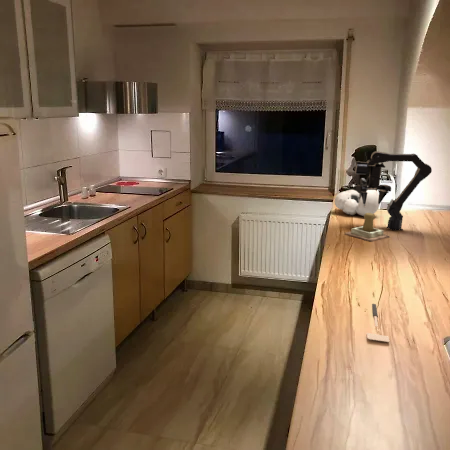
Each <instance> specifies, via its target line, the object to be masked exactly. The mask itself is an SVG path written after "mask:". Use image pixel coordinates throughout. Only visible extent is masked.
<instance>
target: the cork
mask: <svg viewBox="0 0 450 450" xmlns="http://www.w3.org/2000/svg"><path fill="white" fill-rule="evenodd" d="M363 218H364V222H363V225H362V226H363V229H362V231H366V232H373V228H374V219H375V213H374V214H372V213H365V215H364V216H363Z"/></svg>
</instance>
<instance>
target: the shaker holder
mask: <svg viewBox="0 0 450 450" xmlns="http://www.w3.org/2000/svg"><path fill="white" fill-rule="evenodd" d="M362 229H363V225H362V226H357V227H353V228H351V229H350V231H347V232H344V235H346V236H349V237H352V238H356V239H360V240H364V241H368V242H375V241H379V240H383V239H387V238H390V235H388V234H385V233H384V229H381V228H380V229H379V228H375V227H373V232H366V231H362Z"/></svg>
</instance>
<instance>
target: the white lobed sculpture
mask: <svg viewBox="0 0 450 450" xmlns="http://www.w3.org/2000/svg"><path fill="white" fill-rule="evenodd" d="M367 187H368V186H367ZM366 192H368V193H367V198H366V203H365V204H363V200H362V196H361V194H360V192H358V191H357V190H355V189H348V190H345V191H341V192H339V193H337V194H336V196H335V197H334V205H335V207H336V208H337V209H339V210H342V212H343V213H345V214H346V215H350V216H354V215H356V214H357V215H359V216H362V217H364V215H365V213H372V214H374V215H375V213H377V211H378V210H379V207H380V204H381V203H380V204H378V199H379V192H378V190H367V191H366Z"/></svg>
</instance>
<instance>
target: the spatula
mask: <svg viewBox="0 0 450 450" xmlns="http://www.w3.org/2000/svg"><path fill="white" fill-rule="evenodd" d="M371 308H372V316H373V317H374V327H378V326H379V325H378V316H379V315H378V309H377V304H376V303H372V304H371ZM366 336H367V337H366V338H367V339H368V340H370V341H372V340H373V341H378V342H386V343H389V342H390V337H389V336H388V335H382V334H376V333H371V332H366Z"/></svg>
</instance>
